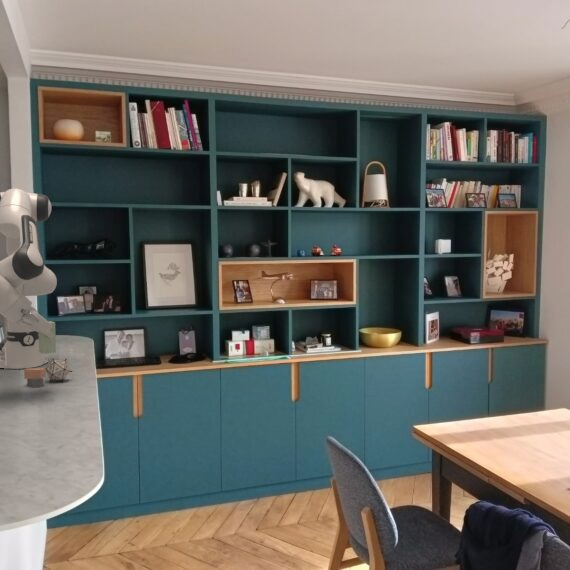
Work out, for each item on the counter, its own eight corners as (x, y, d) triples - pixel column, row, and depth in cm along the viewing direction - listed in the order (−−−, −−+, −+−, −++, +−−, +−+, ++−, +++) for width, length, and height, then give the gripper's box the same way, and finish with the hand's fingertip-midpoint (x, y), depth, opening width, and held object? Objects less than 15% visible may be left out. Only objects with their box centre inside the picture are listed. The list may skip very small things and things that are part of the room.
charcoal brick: (27, 385, 199) (27, 377, 199) (36, 384, 201) (35, 375, 201) (34, 388, 195) (34, 379, 195) (43, 387, 197) (43, 378, 197)
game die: (63, 390, 207) (81, 367, 209) (52, 387, 199) (70, 363, 201) (45, 376, 209) (63, 353, 211) (33, 373, 201) (52, 349, 203)
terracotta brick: (24, 378, 197) (24, 369, 197) (28, 376, 200) (28, 368, 200) (41, 378, 196) (41, 370, 196) (45, 376, 199) (45, 368, 199)
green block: (39, 352, 190) (38, 322, 189) (51, 350, 193) (50, 321, 192) (43, 354, 187) (42, 323, 186) (55, 352, 190) (55, 322, 189)
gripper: (35, 303, 176) (68, 332, 184) (14, 298, 191) (44, 325, 199) (20, 319, 174) (54, 347, 181) (0, 313, 189) (31, 339, 196)
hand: (49, 335), depth 190 cm, fingers closed on green block, 4 cm apart
